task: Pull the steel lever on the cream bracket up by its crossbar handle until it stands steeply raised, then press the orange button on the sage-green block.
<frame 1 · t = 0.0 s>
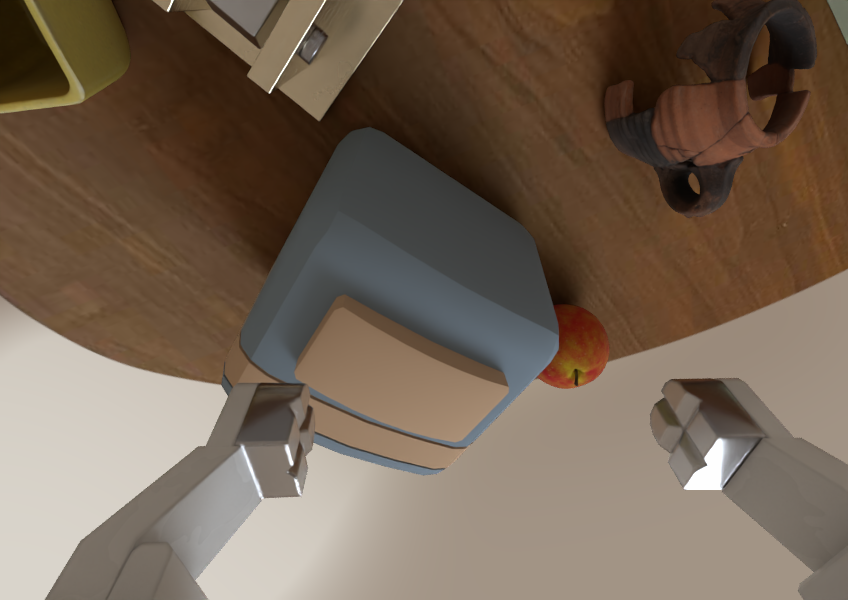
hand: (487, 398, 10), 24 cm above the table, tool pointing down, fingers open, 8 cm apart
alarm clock: (397, 255, 35), on the table
fruit: (552, 318, 39), on the table
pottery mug: (674, 106, 29), on the table
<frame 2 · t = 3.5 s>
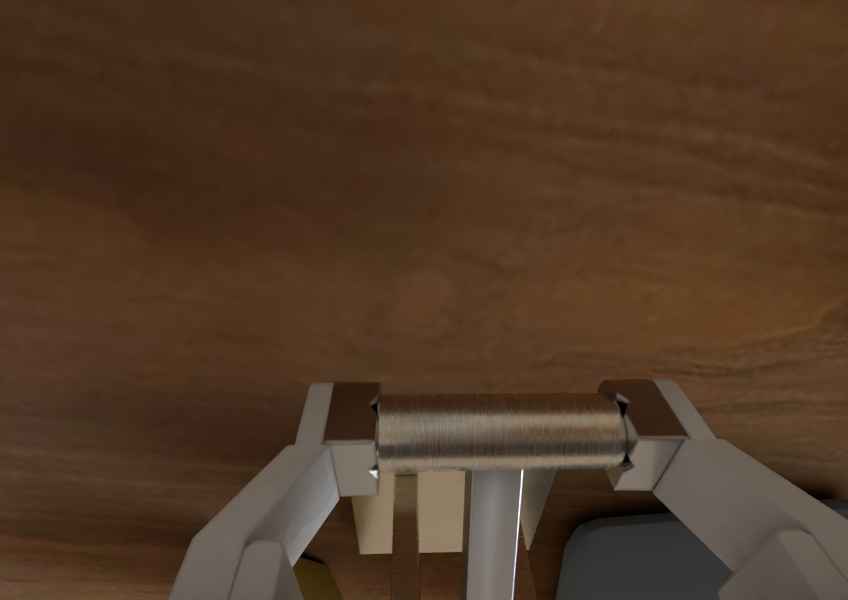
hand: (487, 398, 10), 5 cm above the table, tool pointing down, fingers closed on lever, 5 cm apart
flower pot: (274, 562, 25), on the table
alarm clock: (675, 560, 27), on the table
bracket: (448, 477, 20), on the table
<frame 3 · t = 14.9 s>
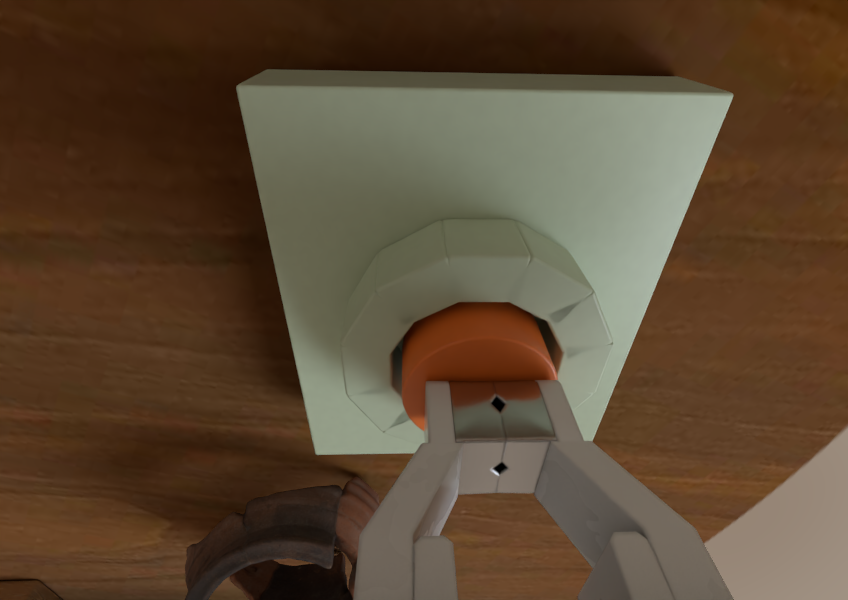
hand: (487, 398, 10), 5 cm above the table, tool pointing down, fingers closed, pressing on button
button block: (459, 281, 14), on the table
button: (475, 369, 10), point 4 cm above the table, slide at -0.4 cm, touching gripper
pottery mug: (325, 517, 22), on the table
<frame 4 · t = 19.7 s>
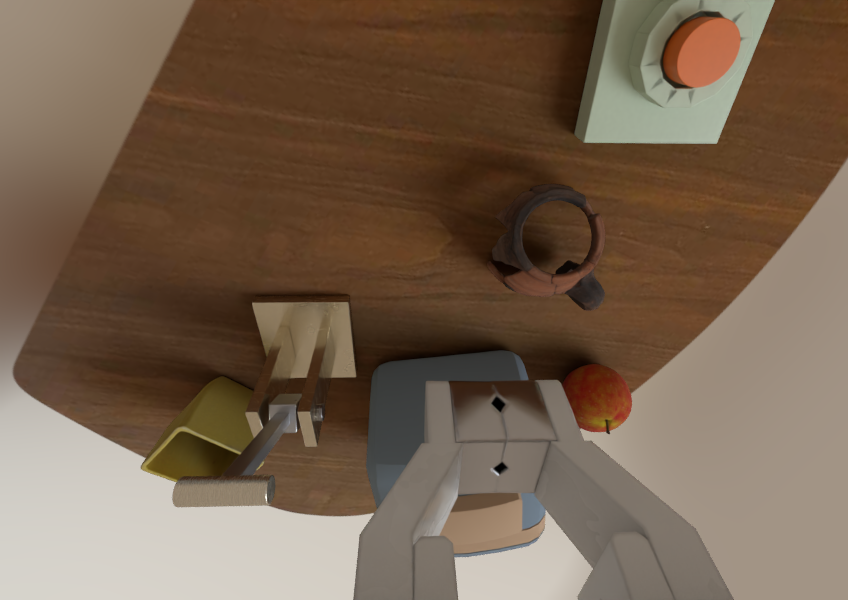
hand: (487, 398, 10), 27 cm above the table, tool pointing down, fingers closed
flower pot: (233, 394, 49), on the table
button block: (664, 45, 29), on the table
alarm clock: (450, 397, 50), on the table
bracket: (310, 335, 44), on the table
fruit: (583, 372, 48), on the table
button: (700, 52, 26), point 4 cm above the table, slide at 0.1 cm
lever: (264, 441, 30), point 15 cm above the table, hinge at 59.9°
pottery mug: (539, 238, 38), on the table
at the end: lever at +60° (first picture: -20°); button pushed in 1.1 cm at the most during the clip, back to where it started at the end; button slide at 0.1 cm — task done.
